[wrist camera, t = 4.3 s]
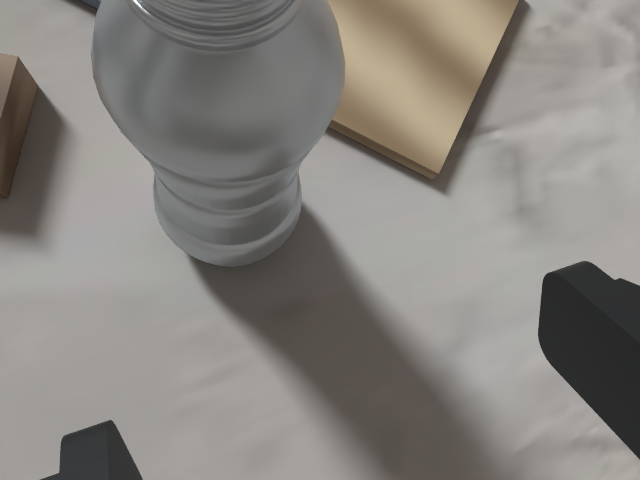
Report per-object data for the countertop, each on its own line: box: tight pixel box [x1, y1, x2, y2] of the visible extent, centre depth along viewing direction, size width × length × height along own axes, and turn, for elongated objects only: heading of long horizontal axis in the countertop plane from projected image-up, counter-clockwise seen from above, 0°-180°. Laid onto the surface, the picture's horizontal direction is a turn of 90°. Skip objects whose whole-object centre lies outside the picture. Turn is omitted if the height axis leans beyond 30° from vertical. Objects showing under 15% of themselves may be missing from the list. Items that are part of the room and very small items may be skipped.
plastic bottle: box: [91, 0, 345, 267], centre depth 20 cm, size 6×7×20 cm
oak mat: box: [327, 0, 519, 180], centre depth 33 cm, size 13×13×1 cm
